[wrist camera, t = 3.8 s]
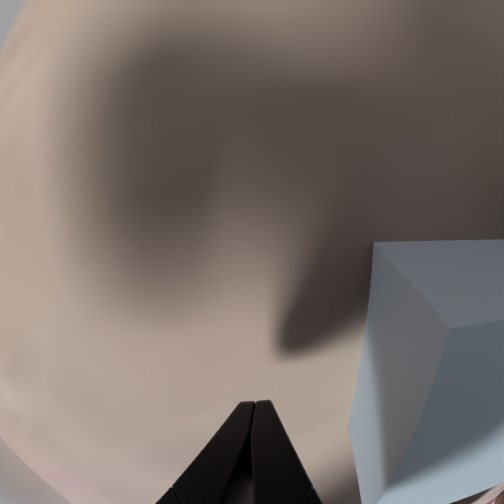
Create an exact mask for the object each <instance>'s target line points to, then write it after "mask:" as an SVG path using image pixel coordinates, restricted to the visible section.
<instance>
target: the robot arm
mask: <svg viewBox="0 0 504 504" xmlns="http://www.w3.org/2000/svg"><path fill="white" fill-rule="evenodd" d="M172 487H173V488H172ZM172 487H170V488H169V489H168V491H167V492H166V493H165V494H164V495H163V496H162V497H161V498H160V499H159V500H158V501H157V502H156V503H155V504H323V503H322V502H321V500H320V498H319V496H318V494H317V492H316V490H315V489H314V488H313V485H312V483H311V481H310V479H309V477H308V475H307V473H306V471H305V469H304V467H303V465H302V463H301V461H300V459H299V457H298V455H297V453H296V451H295V449H294V447H293V445H292V443H291V441H290V439H289V437H288V435H287V433H286V431H285V429H284V427H283V425H282V422H281V420H280V418H279V416H278V414H277V412H276V410H275V408H274V406H273V403H272V402H271V401H270V400H261V401H257V402H256V403H255V402H254V401H244V402H240V403H239V404H238V405H237V407H236V408H235V409H234V411H233V412H232V413H231V414H230V416H229V417H228V418H227V420H226V421H225V422H224V423H223V425H222V426H221V427H220V429H219V430H218V431H217V432H216V434H215V435H214V436H213V437H212V439H211V440H210V441H209V442H208V444H207V445H206V446H205V447H204V448H203V450H202V451H201V452H200V453H199V455H198V456H197V457H196V458H195V459H194V461H193V462H192V463H191V464H190V465H189V466H188V468H187V469H186V470H185V471H184V472H183V474H182V475H181V476H180V477H179V478H178V479H177V480H176V482H175V483H174V484H173V485H172Z"/></svg>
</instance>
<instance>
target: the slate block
mask: <svg viewBox="0 0 504 504" xmlns="http://www.w3.org/2000/svg"><path fill="white" fill-rule="evenodd" d="M348 429H349V434H350V440H351V445H352V450H353V456H354V461H355V467H356V472H357V478H358V484H359V490H360V496H361V502H362V504H450V503H453V502H456V501H458V500H461V499H464V498H467V497H469V496H472V495H474V494H477V493H479V492H482V491H484V490H487V489H489V488H491V487H494V486H496V485H498V484H500V483H502V482H504V239H494V240H441V241H396V242H374V243H373V259H372V272H371V283H370V293H369V303H368V312H367V320H366V328H365V335H364V342H363V349H362V356H361V362H360V368H359V374H358V380H357V385H356V391H355V396H354V401H353V406H352V411H351V415H350V420H349V425H348Z"/></svg>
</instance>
